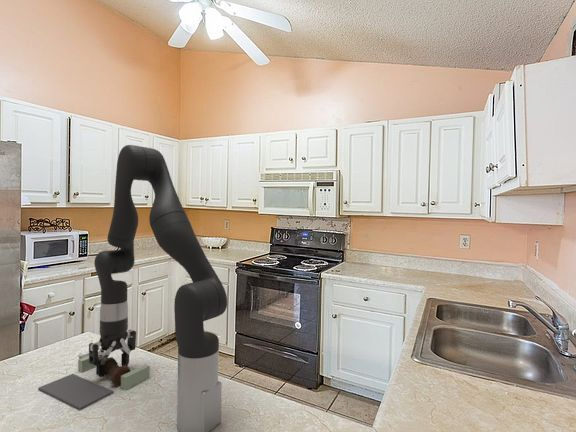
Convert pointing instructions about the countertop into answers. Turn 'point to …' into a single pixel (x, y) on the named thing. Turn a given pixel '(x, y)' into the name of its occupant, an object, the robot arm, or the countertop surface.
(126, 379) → the rails
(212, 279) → the robot arm
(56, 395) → the mat
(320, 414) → the countertop surface
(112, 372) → the bolt
